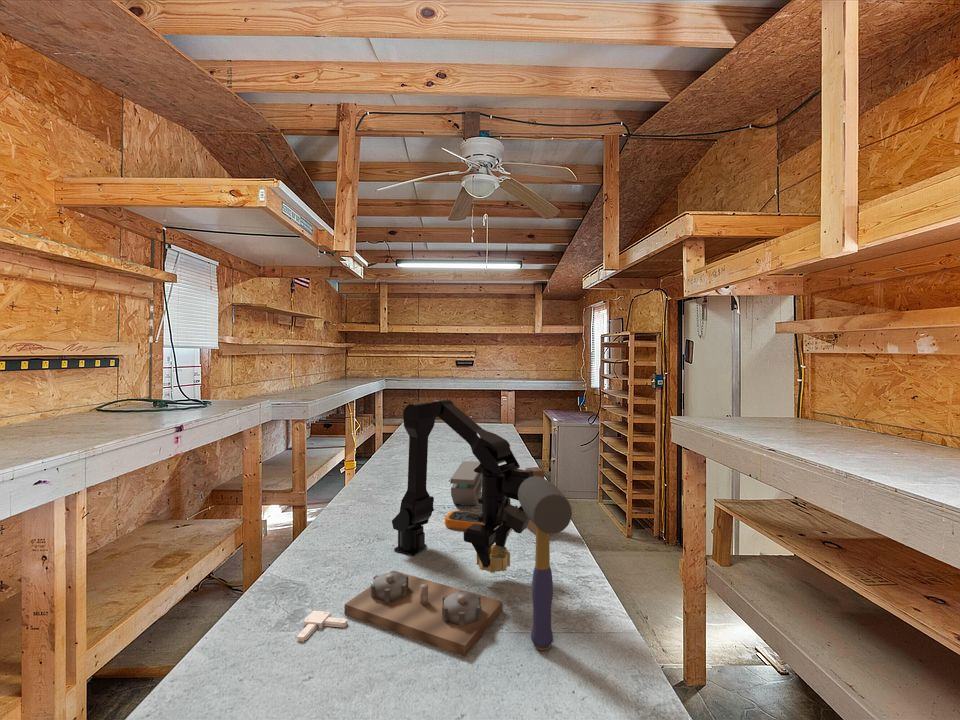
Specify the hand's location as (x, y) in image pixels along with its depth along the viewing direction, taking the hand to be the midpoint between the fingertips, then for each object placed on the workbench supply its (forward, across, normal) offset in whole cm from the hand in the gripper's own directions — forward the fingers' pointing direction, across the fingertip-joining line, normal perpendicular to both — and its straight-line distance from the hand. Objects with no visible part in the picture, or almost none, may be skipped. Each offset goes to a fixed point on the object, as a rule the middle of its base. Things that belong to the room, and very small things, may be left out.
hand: (493, 560), depth 106 cm
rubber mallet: (+5, -17, -18) cm, 25 cm away
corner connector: (+6, -32, +21) cm, 39 cm away
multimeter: (+6, +27, +19) cm, 34 cm away
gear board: (+5, -18, +7) cm, 20 cm away
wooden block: (+5, +33, +1) cm, 33 cm away
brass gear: (+1, 0, 0) cm, 1 cm away
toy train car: (+5, +48, +33) cm, 59 cm away
